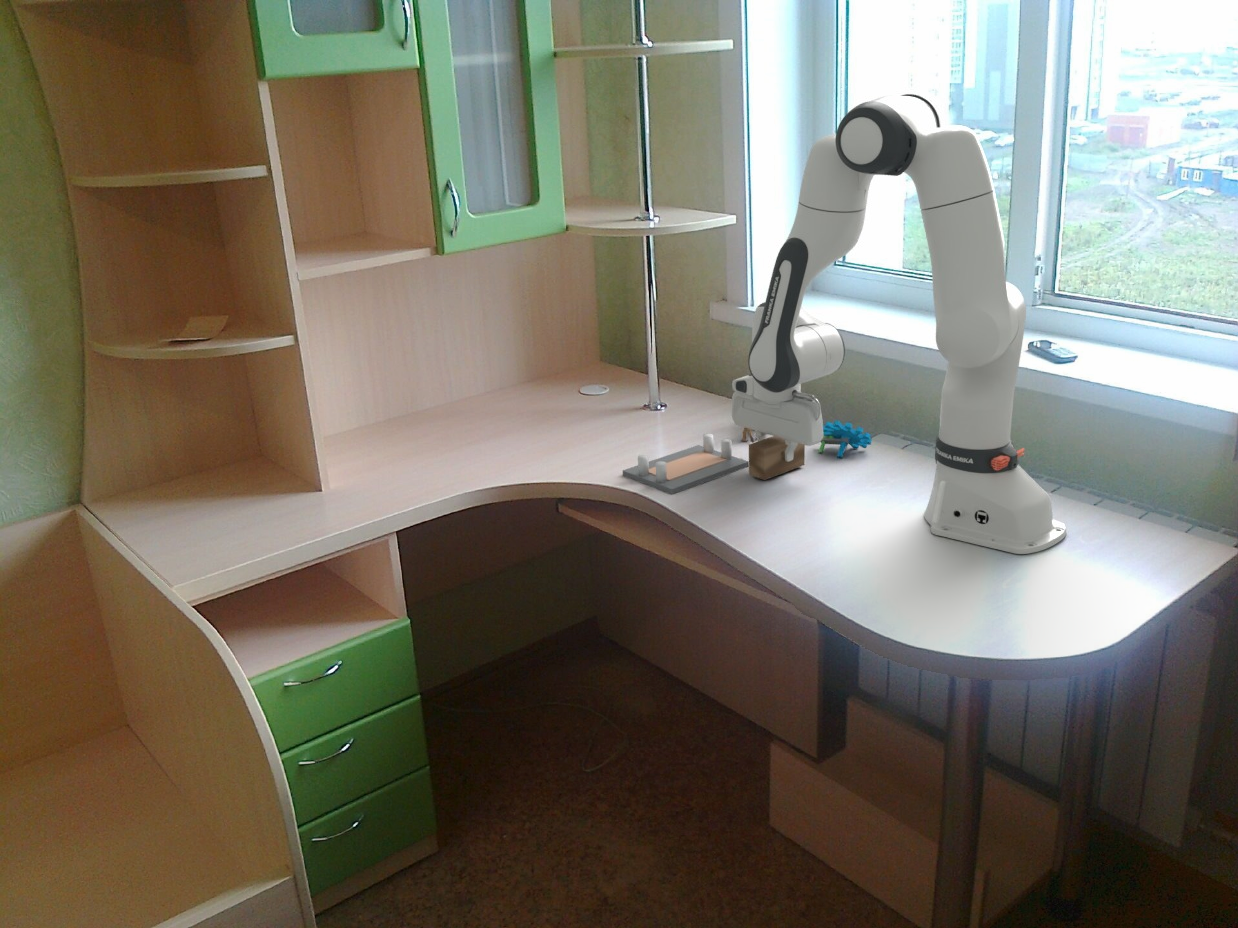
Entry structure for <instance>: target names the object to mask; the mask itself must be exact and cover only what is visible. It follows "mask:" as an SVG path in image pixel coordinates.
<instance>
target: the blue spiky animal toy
mask: <svg viewBox="0 0 1238 928" xmlns="http://www.w3.org/2000/svg"><path fill="white" fill-rule="evenodd" d="M863 432H864V428H862V427H861V426H857V427H856V429H854V428H853V424H852V423H851V422H845V424H844V425H843V424H842V423H841V421H839V420H834V421H833V423H832V422H830V421H826V422H825V425H824V424H823V439H822V440H821V441H820V442H819V443H820V447H819V449H818V453H819V454H823V452H824V449H825V446H826V445H838V446H839V448H838V452H837V455H836V457H837V458H839V459H842V458H843V456H844V452H845V449H846V448H847V447H848V446H849V445H850V446H851V448H853V449H855V448H856V449H855V450H857V449H858V450H859V448H860V447H861V448H863V449H867V446H868V445H872V442H873V440H872V438H871V434H870V433H869V432H864V433H863Z"/></svg>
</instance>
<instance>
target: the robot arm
mask: <svg viewBox="0 0 1238 928" xmlns="http://www.w3.org/2000/svg"><path fill="white" fill-rule="evenodd" d="M903 173H904V174H906V175H907V176H909V177H910V179H911V180H912V182H913V184H914V186H915V189H916V193H917V194H916V195H917V197H918V203H919V207H920V208H919V209H920V213H921V219H922V222H923V227H924V232H925V236H926V243H927V247H928V253H929V256H930V264H931V274H932V275H931V277H932V293H933V294H932V295H933V307H934V316H935V342H936V343H935V344H936V347H937V348H938V351H939V353H940V355H941V356H942V357H943V358H944V360H946V361H947V366H946V372H945V377H944V381H943V386H942V387H941V396H940V397H941V398H940V415H939V431H938V433H939V434H937V436H936V439H935V448H934V449H935V450H934V451H935V452H934V459H935V465H936V466H935V471H934V478H933V479H934V480H933V484H932V488H931V493H930V495H929V496H930V497H929V500H928V503H927V505H926V508H925V510H924V513H923V516H924V519H925V521H926V522H927V524H929V525H930V532H931V533H932V534H933V535H935V536H940V537H944V538H949V539H953V540H957V541H961V542H965V543H969V544H973V545H978V546H982V547H986V548H991V549H995V550H999V551H1002V552H1003V551H1004V552H1007V553H1012V554H1016V555H1025V554H1027V555H1029V554H1034V553H1038V552H1041V551H1045V550H1047V549H1049V548H1051V547H1052V546H1055V545H1056V544H1058V543H1060V542H1061V541H1062V540H1063V539H1064V538H1065V537H1066V535H1067V526H1066V524H1065V523H1063V522H1061V521H1059V520H1056V519H1055V518H1054V517H1053V515H1054V514H1053V506H1052V499H1051V496H1050V495H1049V493H1048V492H1047V491H1046V490H1045V489H1043V488H1042V487H1041V486H1040V484H1039V483H1038V482H1036V481H1035V480H1034V479H1033V478H1032V477H1031V476H1030V475H1029V474H1028V472H1026V471H1025V469H1023V468H1022V467H1021V465H1020V462H1019V459H1018V458H1019V457H1021V456H1023V455H1025V452H1024V451H1025V450H1026V448H1025V447H1022V448H1020V449H1018V450H1016V448H1015V445H1014V442H1013V440H1012V439H1011V432H1012V421H1013V420H1012V419H1013V409H1014V395H1015V389H1016V385H1017V378H1018V372H1019V366H1020V360H1021V354H1022V348H1023V342H1024V341H1023V340H1024V336H1025V335H1024V334H1025V333H1024V332H1025V326H1026V325H1025V324H1026V318H1027V305H1026V301H1025V298H1024V295H1023V293H1022V292H1021V291H1020V290H1019V288H1017V286H1016V285H1013V284H1012V283H1010V282H1008V281H1007V277H1006V261H1005V237H1004V232H1003V227H1002V221H1001V216H1000V212H999V211H1000V210H999V206H998V202H997V198H996V196H997V195H996V192H995V191H996V190H995V187H994V182H993V178H992V174H991V170H990V166H989V164H988V161H987V158H986V155H985V152H984V149H983V147H982V145H981V142H980V141H979V138H978V136H977V134H976V133H975V131H973V130H972V129H971V128H969V127H967V126H963V125H957V124H949V125H944V123H943V117H942V114H941V112H940V111H939V109H938V107H937V105H935V103H934V102H932V101H931V100H930V99H928V98H926V97H924V96H921V95H919V94H912V93H907V94H906V93H905V94H902V95H885V96H881V97H878V98H875V99H872V100H870V101H865V102H861V103H860V104H858V105H856V106H854V107H853V108H852V109H851V110H849V111H848V112H847V113H846V114H845V115H844V116H843V118H842V119H841V121H840V122H839V124H838V127H837V129H836V132H835V133H831V134H828V135H825V136H822V137H821V138H819V139H817V140H816V141H815V142H814V143H813V145H812V147H811V149H810V151H809V154H808V157H807V161H806V164H805V167H804V170H803V175H802V179H801V185H800V190H799V197H798V204H797V209H796V214H795V218H794V221H793V224H792V227H791V229H790V232H789V235H788V237H787V238H786V240H785V242H784V243H783V244H782V246H781V248H780V249H779V252H778V254H777V256H776V259H775V262H774V266H773V269H772V272H771V277H770V280H769V281H770V282H769V286H768V289H767V295H766V297H765V298H766V299H765V301H764V302H762V303H760V304H759V305H757V307H756V308H755V310H754V314H753V318H752V319H753V320H752V327H751V329H752V331H751V335H752V336H751V345H750V348H749V351H748V355H747V356H748V357H747V358H748V359H747V361H748V362H747V363H748V364H747V365H748V369H749V372H750V374H748V375H744V376H742V377H738V378H736V379H733V380H732V384H731V386H732V390H733V391H734V392H733V393H732V397H731V418H732V421H733V422H734V424H735V426H739V427H742V428H744V427H745V428H748V429H751V431H755V433H754V436H755V438H756V440H757V442H758V441H761V440H764V439H766V438H768V436H767V435H769V436H771V437H772V436H776V437H779V438H783V439H785V444H786V445H788V446H787V448H786V450H785V451H781V455H782V457H781V459H782V460H785V461H788V462H789V461H791V460H793V457H794V450H795V448H796V447H797V445H798V443H800V444H803V445H805V446H808V447H811V446H814V445H817V444H819V443H821V442H820V441H821V440H822V439H823V425H824V423H823V422H824V421H823V414H822V409H821V408H822V407H821V403H820V402H819V400H818V399H817V398H816V396H815V395H813V394H810V393H805V392H802V391H801V390H802V388H801V387H802V386H801V385H802V384H803V383H807V382H811V381H813V380H816V379H819V378H823V377H825V376H828V375H831V374H833V373H835V372H837V371H838V370H840V368H842V367H841V366H842V365H843V362H844V360H845V355H846V346H845V342H844V338H843V336H842V333H841V332H840V331H839V330H838V329H837V328H836V327H835V326H834V325H832V324H831V323H829V322H823V321H822V320H820V319H818V318H815V317H814V316H812V315H810V314H809V313H808V312H806V311H805V310H804V309H803V308H802V304H803V300H804V296H805V293H806V291H807V289H808V287H809V286H810V284H811V282H812V281H813V280H814V279H815V278H816V277H817V276H818V275H820V273H821V272H823V271H824V270H825V269H827V268H828V267H829V266H830V265H833V263H835V262H836V261H838V260H840V259H842V258H843V257H844V256H846V255H847V254H848V253H850V252H851V250H853V249H854V248H855V246H856V245H857V244H858V241H859V239H860V237H861V235H862V234H861V233H862V231H863V229H864V228H863V227H864V223H865V217H866V210H867V205H868V203H867V202H868V198H869V197H868V196H869V190H870V187H871V186H870V185H871V182H872V180H873V178H874V176H875V175H877V176H878V175H879V176H890V177H891V176H892V177H896V176H901V175H902V174H903ZM748 429H747V430H748Z"/></svg>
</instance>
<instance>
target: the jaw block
mask: <svg viewBox="0 0 1238 928" xmlns="http://www.w3.org/2000/svg"><path fill="white" fill-rule="evenodd" d="M787 446H788V445H786V444H785V439H783V438H779V437H776V436H772V435H771V436H770V437H767V438H766V439H764V440H761V441H758V440H757V441H754V443H752V442H751V443H749V444H748V461H749V466H748V475H749V476H750V477H754V478H757V479H759V480H763V481H766V480H769V479H771V478H773V477H774V478H775V477H776V476H779V475H781V474H785V473H787V472H789V471H792V470H794V469H797V468H801V467H803V466H805V458H806V457H805V455H806V454H805V452H806V451H805V446H806V445H803V444H800V443H798V445H797V447H796V448H795V450H794V457H793V460H791V461H789V462H788V461H785V460H782V459H781V457H782V455H781V451H785V450H786V448H787Z"/></svg>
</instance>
